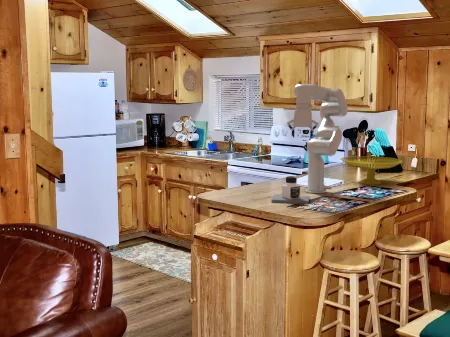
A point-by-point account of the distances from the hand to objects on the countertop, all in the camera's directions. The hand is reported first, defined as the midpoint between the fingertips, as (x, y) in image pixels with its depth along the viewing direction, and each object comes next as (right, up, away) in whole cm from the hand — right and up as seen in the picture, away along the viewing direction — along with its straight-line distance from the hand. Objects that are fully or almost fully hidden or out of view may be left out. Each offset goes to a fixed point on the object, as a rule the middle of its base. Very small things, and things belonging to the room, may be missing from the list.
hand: (302, 137), depth 334 cm
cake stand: (+52, -27, +57) cm, 82 cm away
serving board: (-7, -35, -4) cm, 36 cm away
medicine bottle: (-7, -34, -4) cm, 35 cm away
